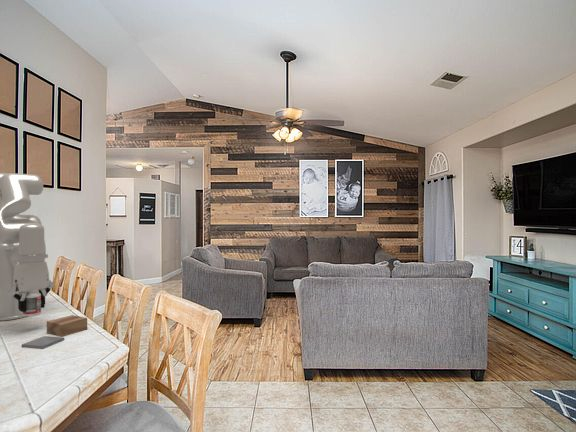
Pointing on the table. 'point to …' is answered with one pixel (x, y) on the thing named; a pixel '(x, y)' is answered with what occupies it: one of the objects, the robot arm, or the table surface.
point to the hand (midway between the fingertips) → (32, 308)
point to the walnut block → (66, 325)
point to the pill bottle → (33, 303)
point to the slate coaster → (43, 342)
